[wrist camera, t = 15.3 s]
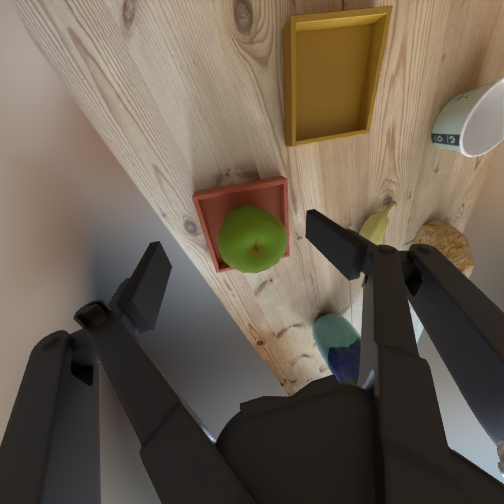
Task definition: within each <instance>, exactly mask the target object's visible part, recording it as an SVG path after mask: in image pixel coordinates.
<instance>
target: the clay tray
mask: <svg viewBox="0 0 504 504" xmlns="http://www.w3.org/2000/svg"><path fill="white" fill-rule="evenodd" d="M193 200H194V204H195V207H196V210H197V213H198V216H199V219H200V222H201V226H202V229H203V232H204V235H205V238H206V241H207V244H208V248H209V251H210V254H211V257H212V260H213V263H214V266H215V269H216V273H219V272H223V271H227V270H232V269H233V268H232V267H231V266H229V265H228V264H227V263H226V262H224V260H223V258H222V256H221V254H220V251H219V231H220V229H221V227H222V225H223V222H224V220H225V218H226V215H227V214H228V213H229V212H230V211H231V210H233V209H234V208H235V207H238V206H242V205H256V206H258V207H260V208H261V209H263V210H265V211H266V212H268V213H270V214H272V215H274V216H276V217H277V218H278V219H280V221H281V222H282V224H283V226H284V227H285V229H286V233H287V241H288V242H287V247H286V252H285V254H284V256H283V257H282V258H284V257H288V256H289V221H288V183H287V178H285V177H283V176H279V177H273V178H268V179H263V180H257V181H252V182H247V183H241V184H236V185H231V186H225V187H220V188H215V189H209V190H204V191H199V192H194V194H193Z"/></svg>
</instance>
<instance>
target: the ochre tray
mask: <svg viewBox="0 0 504 504" xmlns="http://www.w3.org/2000/svg"><path fill="white" fill-rule="evenodd" d="M391 12H392V6H383V7H374V8H364V9H354V10H344V11H335V12H325V13H315V14H305V15H294V16H290V18H289V20H288V21H287V23H286V24H285V26H284V28H283V29H282V34H283V69H284V104H285V140H286V146H292V147H293V146H298V145H304V144H310V143H316V142H321V141H327V140H333V139H339V138H345V137H350V136H356V135H362V134H368V133H369V130H370V125H371V119H372V114H373V109H374V103H375V98H376V92H377V87H378V82H379V76H380V71H381V65H382V60H383V55H384V49H385V44H386V39H387V33H388V28H389V22H390V17H391Z"/></svg>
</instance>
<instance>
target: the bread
mask: <svg viewBox="0 0 504 504" xmlns="http://www.w3.org/2000/svg"><path fill="white" fill-rule="evenodd" d="M416 243H421V244H428V245H431V246H433V247H435V248H437V249H438V250H439V251H440V252H441V253H442V254H443V255H444V256H445V257H446V258H447V259H448V260H450V261H451V262H452V263H453V264H454V265H455V266H456V267H457V268H458V269H459V270H460V271H461V272H462V273H463V274H464V275H465V276H466V277H467V278H468V279H469V277H470V275H471V272H472V270H473V267H474V259H473V255H472V252H471V249H470V246H469V244H468V241H467V239H466V237H465V236H464V235H463V234H462V233H461V232H459V231H458V230H457V229H455V228H454V227H453V226H451V225H450V224H448V223H445V222H442V221H439V220H436V219H435V220H433V221H431V222H428V223H426V224H424V225H422V227H421V229H420V231H419V232H418V234H417V236H416V238H415V239H414V242H413V244H416Z"/></svg>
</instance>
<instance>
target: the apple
mask: <svg viewBox="0 0 504 504" xmlns="http://www.w3.org/2000/svg"><path fill="white" fill-rule="evenodd" d="M287 242H288V241H287V233H286V229H285V227H284V226H283V224H282V222H281V221H280V219H278V218H277V217H276V216H274V215H272V214H270V213H268V212H266V211H265V210H263V209H261V208H260V207H258V206H256V205H242V206H238V207H235V208H234V209H233V210H231V211H230V212H229V213H228V214H227V215H226V218H225V220H224V222H223V225H222V227H221V229H220V231H219V251H220V254H221V256H222V258H223V260H224V262H226V263H227V264H228V265H229V266H231V267H232V268H233V269H236V270H238V271H241V272H243V273H258V272H261V271H264V270H267V269H269V268H270V267H272V266H273V265H275V264H276V263H278V262H279V260H280V259H281V258H282V257H283V256H284V254H285V252H286V247H287Z"/></svg>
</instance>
